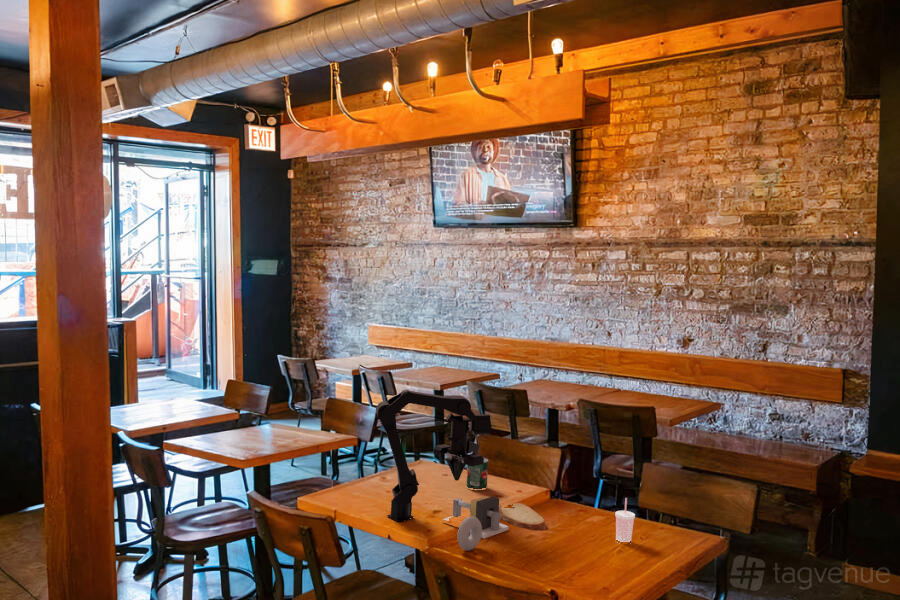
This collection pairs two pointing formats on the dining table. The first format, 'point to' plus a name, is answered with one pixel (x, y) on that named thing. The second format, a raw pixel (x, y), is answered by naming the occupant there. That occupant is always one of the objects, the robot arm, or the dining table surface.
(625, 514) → the beverage cup
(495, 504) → the dark gray square plate
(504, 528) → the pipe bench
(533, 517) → the bread slice
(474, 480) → the canned tomato
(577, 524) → the dining table surface
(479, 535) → the grey wheel
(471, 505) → the olive brown square block
